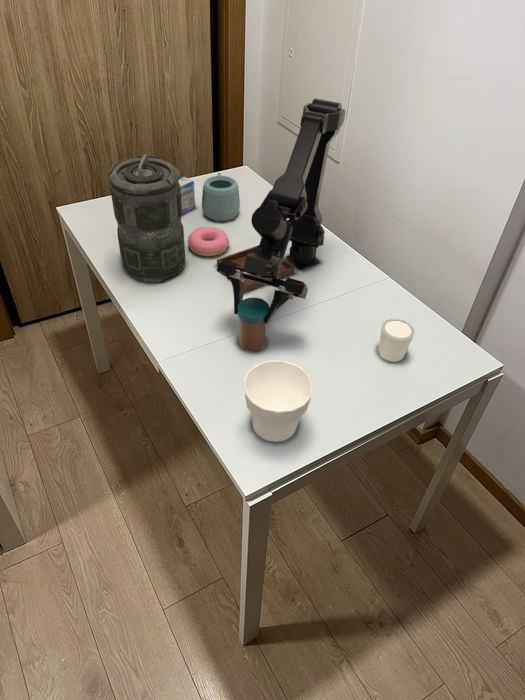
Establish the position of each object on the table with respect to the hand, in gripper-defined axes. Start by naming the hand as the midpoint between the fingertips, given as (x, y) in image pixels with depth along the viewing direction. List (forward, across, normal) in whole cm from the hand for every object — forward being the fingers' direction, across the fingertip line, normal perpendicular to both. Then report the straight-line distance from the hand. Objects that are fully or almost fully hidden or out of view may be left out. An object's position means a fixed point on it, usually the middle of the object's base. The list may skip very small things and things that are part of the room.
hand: (250, 318), depth 111 cm
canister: (-6, -34, +18) cm, 39 cm away
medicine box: (-26, -41, +37) cm, 61 cm away
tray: (-13, -10, +24) cm, 30 cm away
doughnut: (-16, -25, +27) cm, 40 cm away
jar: (+5, 0, +7) cm, 8 cm away
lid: (-2, 0, 0) cm, 2 cm away
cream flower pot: (+18, +13, -7) cm, 23 cm away
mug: (-30, -31, +41) cm, 59 cm away
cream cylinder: (-2, +29, +14) cm, 32 cm away
